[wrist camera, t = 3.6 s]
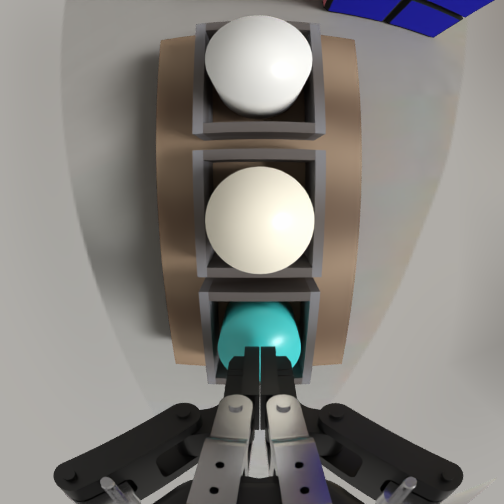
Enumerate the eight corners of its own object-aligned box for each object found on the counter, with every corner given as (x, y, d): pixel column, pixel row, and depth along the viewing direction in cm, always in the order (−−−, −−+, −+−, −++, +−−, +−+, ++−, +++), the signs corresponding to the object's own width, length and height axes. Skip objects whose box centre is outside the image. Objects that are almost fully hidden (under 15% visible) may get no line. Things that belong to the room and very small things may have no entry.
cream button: (216, 169, 14) (203, 167, 11) (302, 168, 14) (315, 167, 11) (218, 252, 16) (207, 274, 12) (300, 251, 15) (311, 273, 12)
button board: (173, 56, 16) (144, 20, 11) (342, 55, 16) (370, 19, 10) (184, 342, 22) (165, 389, 17) (333, 342, 22) (351, 390, 16)
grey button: (216, 47, 13) (206, 17, 9) (299, 47, 12) (309, 17, 9) (216, 120, 14) (203, 105, 10) (301, 120, 14) (314, 105, 10)
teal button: (223, 287, 18) (215, 314, 14) (295, 287, 17) (304, 314, 14) (226, 347, 19) (220, 380, 15) (291, 347, 19) (297, 380, 15)
